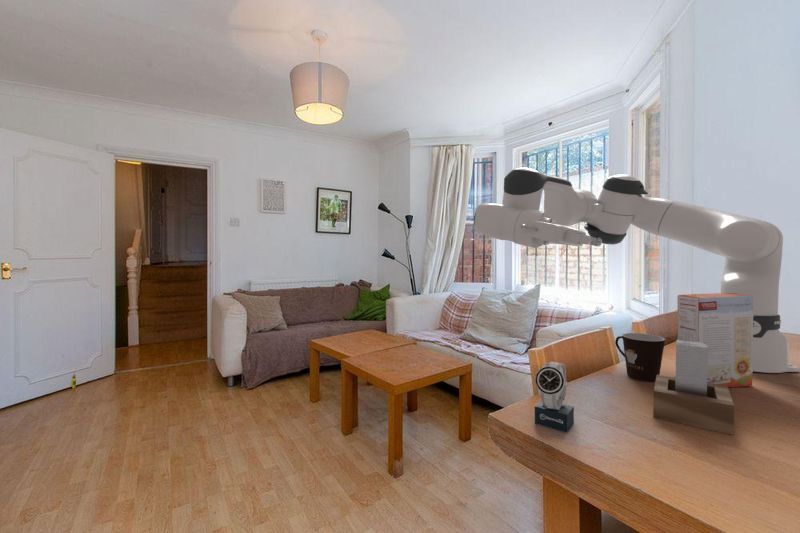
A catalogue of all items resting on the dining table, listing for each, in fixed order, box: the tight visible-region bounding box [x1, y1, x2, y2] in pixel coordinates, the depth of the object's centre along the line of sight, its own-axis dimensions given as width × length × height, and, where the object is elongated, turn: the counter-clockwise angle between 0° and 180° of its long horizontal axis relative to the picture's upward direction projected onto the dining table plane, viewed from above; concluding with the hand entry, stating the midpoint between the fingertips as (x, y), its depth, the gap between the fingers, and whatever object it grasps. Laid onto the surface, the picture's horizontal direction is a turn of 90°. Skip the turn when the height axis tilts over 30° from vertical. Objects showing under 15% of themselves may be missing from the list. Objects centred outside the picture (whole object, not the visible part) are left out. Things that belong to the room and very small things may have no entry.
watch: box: [534, 360, 575, 433], centre depth 65 cm, size 6×8×11 cm
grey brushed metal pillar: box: [675, 339, 708, 397], centre depth 68 cm, size 4×4×13 cm
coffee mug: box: [615, 332, 666, 383], centre depth 89 cm, size 12×9×10 cm
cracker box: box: [677, 292, 754, 388], centre depth 83 cm, size 14×6×21 cm, turn 97°
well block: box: [652, 374, 735, 436], centre depth 68 cm, size 11×11×5 cm
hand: (596, 242), depth 77 cm, fingers open, 8 cm apart
